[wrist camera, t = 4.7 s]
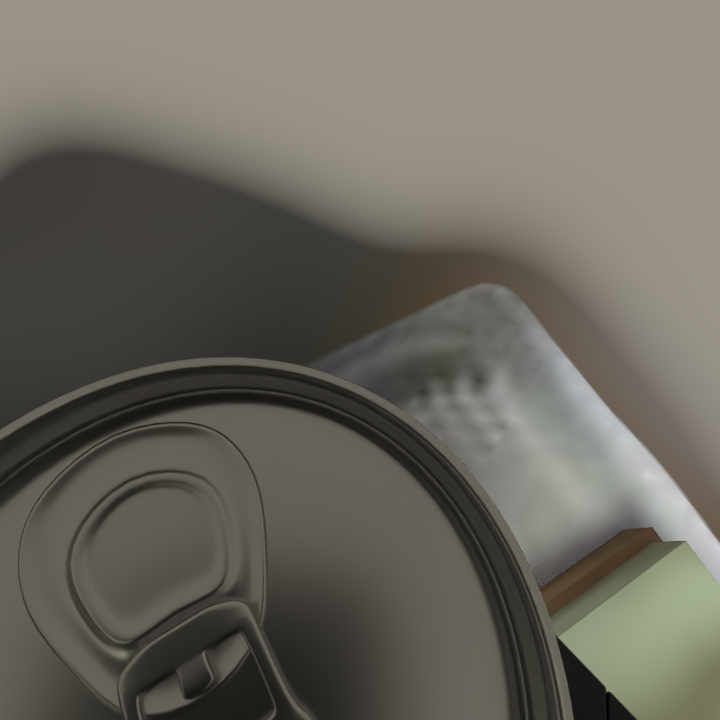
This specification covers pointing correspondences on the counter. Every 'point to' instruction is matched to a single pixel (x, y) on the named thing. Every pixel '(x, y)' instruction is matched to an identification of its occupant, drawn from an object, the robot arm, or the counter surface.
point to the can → (257, 559)
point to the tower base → (644, 624)
